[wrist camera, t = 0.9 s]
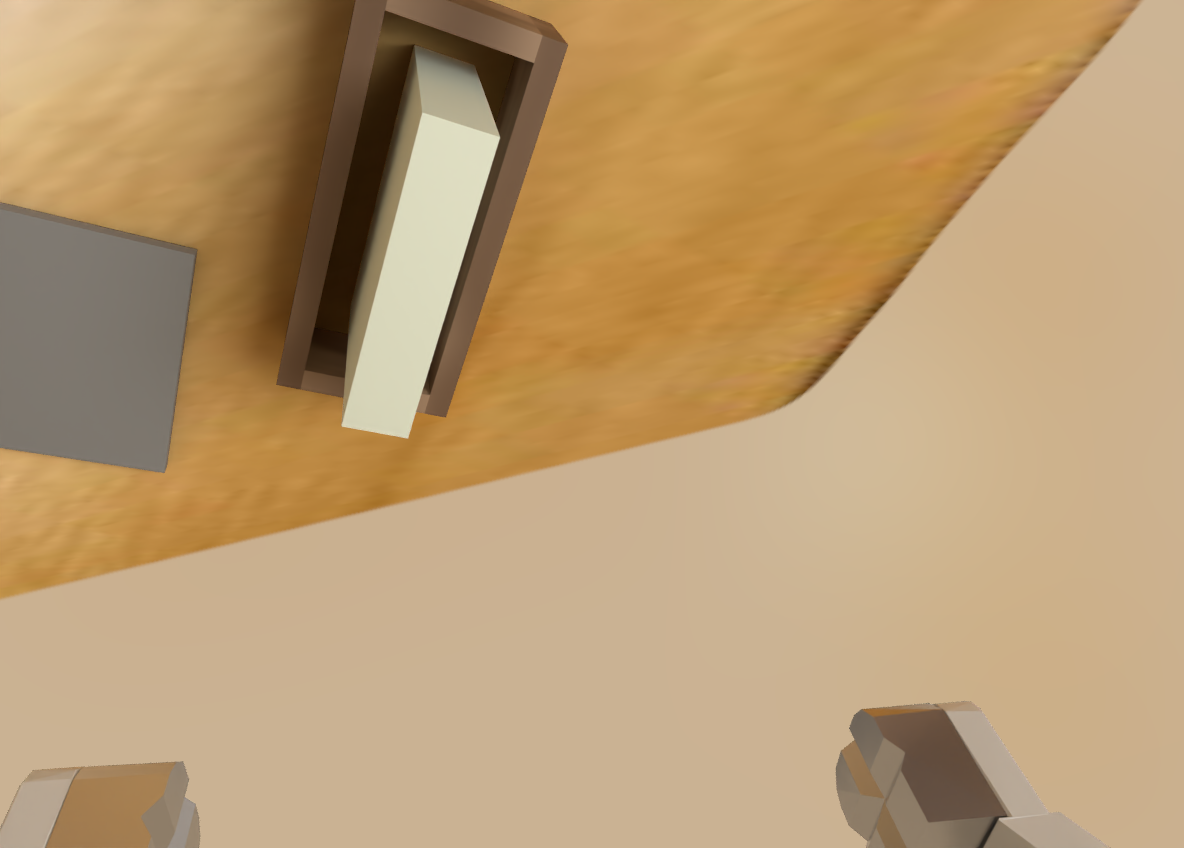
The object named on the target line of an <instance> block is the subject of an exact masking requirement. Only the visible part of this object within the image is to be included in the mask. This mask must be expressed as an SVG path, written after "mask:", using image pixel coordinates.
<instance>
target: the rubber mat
mask: <svg viewBox="0 0 1184 848" xmlns="http://www.w3.org/2000/svg"><path fill="white" fill-rule="evenodd" d="M196 255H197V249H193V248H189V247H185V246H181V245H176V244H172V243H168V242H164V241H160V240H155V239H151V238H147V237H143V236H139V235H135V234H130V233H126V232H122V231H118V230H114V229H109V228H105V227H101V226H97V225H93V224H89V223H84V222H80V221H76V220H72V219H68V218H63V217H59V216H55V215H51V214H47V213H43V212H38V211H34V210H30V209H26V208H22V207H17V206H13V205H9V204H5V203H1V202H0V448H5V449H12V450H18V451H25V452H31V453H38V454H44V455H51V456H57V457H64V458H70V459H77V460H83V461H90V462H97V463H103V464H110V465H116V466H123V467H129V468H136V469H142V470H149V471H155V472H162V473H165V470H166V467H167V462H168V454H169V447H170V440H171V433H172V426H173V419H174V412H175V405H176V397H177V390H178V383H179V376H180V369H181V362H182V355H183V348H184V340H185V333H186V326H187V319H188V312H189V305H190V298H191V291H192V283H193V276H194V269H195V262H196Z"/></svg>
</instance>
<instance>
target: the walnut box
mask: <svg viewBox="0 0 1184 848" xmlns="http://www.w3.org/2000/svg"><path fill="white" fill-rule="evenodd" d="M385 10H386V11H388V12H391V13H394V14H397V15H400V16H402V17H405V18H408V19H411V20H414V21H417V22H419V23H422V24H425V25H428V26H431V27H434V28H436V29H439V30H442V31H445V32H448V33H450V34H453V35H456V36H459V37H462V38H465V39H467V40H470V41H473V42H476V43H479V44H482V45H484V46H487V47H490V48H493V49H496V50H498V51H501V52H504V53H507V54H510V55H513V56H515V57H516V58H515V61H514V64H513V68H512V71H511V74H510V78H509V81H508V84H507V87H506V91H505V94H504V97H503V101H502V104H501V107H500V111H499V114H498V117H497V121H496V127H497V130H498V133H499V135H500V139H499V143H498V146H497V149H496V152H495V156H494V159H493V162H492V165H491V169H490V172H489V175H488V178H487V182H486V185H485V188H484V192H483V195H482V198H481V201H480V205H479V208H478V211H477V214H476V218H475V221H474V224H473V227H472V231H471V234H470V237H469V240H468V244H467V247H466V250H465V253H464V257H463V260H462V263H461V267H460V270H459V273H458V276H457V280H456V283H455V286H454V289H453V293H452V296H451V299H450V302H449V306H448V309H447V312H446V315H445V319H444V322H443V325H442V328H441V332H440V335H439V338H438V341H437V345H436V348H435V351H434V355H433V358H432V361H431V364H430V368H429V371H428V374H427V377H426V381H425V384H424V387H423V390H422V394H421V397H420V400H419V403H418V407H417V410H416V412H420V413H425V414H430V415H435V416H440V417H446V415H447V412H448V409H449V406H450V403H451V400H452V397H453V394H454V391H455V388H456V385H457V382H458V378H459V375H460V372H461V369H462V366H463V363H464V360H465V357H466V354H467V351H468V348H469V345H470V342H471V339H472V336H473V333H474V330H475V327H476V324H477V321H478V318H479V315H480V312H481V308H482V305H483V302H484V299H485V296H486V293H487V290H488V287H489V284H490V281H491V278H492V275H493V272H494V269H495V266H496V263H497V260H498V257H499V254H500V251H501V248H502V245H503V242H504V238H505V235H506V232H507V229H508V226H509V223H510V220H511V217H512V214H513V211H514V208H515V205H516V202H517V199H518V196H519V193H520V190H521V187H522V184H523V181H524V178H525V175H526V172H527V168H528V165H529V162H530V159H531V156H532V153H533V150H534V147H535V144H536V141H537V138H538V135H539V132H540V129H541V126H542V123H543V120H544V117H545V114H546V111H547V108H548V105H549V102H550V98H551V95H552V92H553V89H554V86H555V83H556V80H557V77H558V74H559V71H560V68H561V65H562V62H563V59H564V56H565V53H566V50H567V47H568V44H567V43H566V42H565V40H564V39H563V38H562V37H561V35H560V34H559V33H558V32H557V30H556V29H555V28H554V27H553V25H552V24H550V23H547V22H545V21H542V20H539V19H537V18H534V17H531V16H529V15H526V14H523V13H520V12H518V11H515V10H512V9H510V8H507V7H504V6H502V5H499V4H496V3H494V2H491V1H488V0H355V4H354V9H353V14H352V19H351V24H350V29H349V33H348V38H347V43H346V48H345V53H344V58H343V62H342V67H341V72H340V77H339V82H338V87H337V91H336V96H335V101H334V106H333V111H332V116H331V121H330V125H329V130H328V135H327V140H326V145H325V150H324V154H323V159H322V164H321V169H320V174H319V179H318V184H317V188H316V193H315V198H314V203H313V208H312V213H311V217H310V222H309V227H308V232H307V237H306V242H305V247H304V251H303V256H302V261H301V266H300V271H299V276H298V280H297V285H296V290H295V295H294V300H293V305H292V309H291V314H290V319H289V324H288V329H287V334H286V339H285V344H284V349H283V354H282V359H281V364H280V369H279V374H278V379H277V384H276V385H281V386H286V387H291V388H296V389H301V390H306V391H312V392H317V393H322V394H327V395H332V396H337V397H342V398H344V386H345V373H346V359H347V346H348V334H343V333H339V332H334V331H330V330H325V329H321V328H316V327H314V326H315V322H316V317H317V313H318V308H319V304H320V299H321V295H322V290H323V286H324V281H325V277H326V273H327V268H328V264H329V259H330V255H331V250H332V246H333V241H334V237H335V232H336V228H337V223H338V219H339V214H340V210H341V205H342V201H343V197H344V192H345V188H346V183H347V179H348V174H349V170H350V165H351V161H352V156H353V152H354V147H355V143H356V138H357V134H358V129H359V125H360V120H361V116H362V112H363V107H364V103H365V98H366V94H367V89H368V85H369V80H370V76H371V71H372V67H373V62H374V58H375V53H376V49H377V44H378V40H379V36H380V31H381V27H382V22H383V18H384V13H385Z"/></svg>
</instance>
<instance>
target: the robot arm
mask: <svg viewBox="0 0 1184 848" xmlns="http://www.w3.org/2000/svg"><path fill="white" fill-rule="evenodd" d="M849 729H850V731H851V733H852V735H853V737H854V739H855V740H854V741H852V742H851V743H850V744H849V745H848V746H846V747H845V748H844V749H843V750H841V753H840V756H839V759H838V763H837V766H836V785H837V793H838V797H839V800H840V804H841V808H842V810H843V812H844V815H845V817H846V820H847V822H848V825H849V826H850V827H851V828H852V829H854V830H855V831H856V832H857V833H859V834H860V835H861V836H862V837H863V838H864V839H866V840H867V846H866V848H1110V847H1109V846H1107V845H1106V844H1104V843H1103V842H1102V841H1100V840H1098V839H1097V838H1096V837H1094V836H1093V835H1091V834H1090V833H1089V832H1087V831H1086V830H1084V829H1083V828H1081V827H1080V826H1079V825H1077V824H1076V823H1074V822H1073V821H1072V820H1070V819H1069V818H1067V817H1066V816H1064V815H1063V814H1062V813H1060V812H1056V813H1049V812H1048V811H1047V809H1046V808H1045V806H1044V804H1043V803H1042V801H1041V800H1040V798H1039V797H1038V795H1037V794H1036V792H1035V791H1034V789H1033V788H1032V786H1031V785H1030V783H1029V782H1028V780H1027V779H1026V777H1025V776H1024V774H1023V773H1022V771H1021V770H1020V768H1019V767H1018V765H1017V763H1016V762H1015V760H1014V759H1013V757H1012V756H1011V754H1010V753H1009V751H1008V750H1007V748H1006V747H1005V745H1004V744H1003V742H1002V741H1001V740H1000V738H999V736H998V735H997V733H996V732H995V730H994V729H993V727H992V726H991V724H990V722H989V721H988V719H987V718H986V717H985V715H984V713H983V712H982V710H981V709H980V708H979V707H978V706H976V705H975V704H974V703H972V702H971V701H970V702H969V701H962V702H951V703H939V704H930V703H926V704H914V705H904V706H892V707H881V708H870V709H861V710H860V711H859V712H858V713H856V714H855V715H854V717H853V719H852V722H851V725H850V728H849ZM188 782H189V778H188V775H187V772H186V769H185V766H184V763H183V762H165V763H147V764H146V763H145V764H127V765H108V766H91V767H71V768H58V769H42V770H33V771H32V772H31V773H30V774H29V775H28V777H27V778H26V779H25V780H24V781H23V782H22V784H21V785H20V786H19V788H18V790H17V793H16V795H15V797H14V799H13V801H12V804H11V806H10V808H9V810H8V812H7V815H6V817H5V819H4V821H3V823H2V825H1V828H0V848H199V844H200V826H199V816H198V812H197V808H196V804H195V803H193V802H191V801H190V800H188V799H187V798H185V793H186V789H187V786H188Z"/></svg>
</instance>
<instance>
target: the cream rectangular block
mask: <svg viewBox="0 0 1184 848" xmlns="http://www.w3.org/2000/svg"><path fill="white" fill-rule="evenodd" d="M499 139H500V135H499V133H498V130H497V127H496V124H495V121H494V118H493V116H492V113H491V110H490V107H489V104H488V102H487V99H486V96H485V93H484V90H483V88H482V85H481V82H480V79H479V76H478V73H477V71H476V68H475V65H472V64H470V63H467V62H464V61H461V60H458V59H455V58H452V57H449V56H446V55H443V54H440V53H438V52H435V51H432V50H429V49H426V48H423V47H420V46H417V45H414V47H413V51H412V56H411V60H410V64H409V68H408V72H407V76H406V80H405V84H404V88H403V92H402V97H401V101H400V105H399V109H398V113H397V117H396V121H395V125H394V129H393V133H392V138H391V142H390V146H389V150H388V154H387V158H386V162H385V166H384V170H383V174H382V179H381V183H380V187H379V191H378V195H377V199H376V203H375V207H374V211H373V216H372V220H371V224H370V228H369V232H368V236H367V240H366V244H365V248H364V252H363V257H362V261H361V265H360V269H359V273H358V277H357V281H356V285H355V289H354V293H353V298H352V302H351V306H350V319H349V333H348V346H347V359H346V373H345V386H344V399H343V412H342V426H343V427H348V428H354V429H359V430H365V431H370V432H376V433H381V434H386V435H392V436H397V437H403V438H408V436H409V433H410V430H411V426H412V423H413V420H414V416H415V413H416V410H417V407H418V403H419V400H420V397H421V394H422V390H423V387H424V384H425V381H426V377H427V374H428V371H429V368H430V364H431V361H432V358H433V355H434V351H435V348H436V345H437V341H438V338H439V335H440V332H441V328H442V325H443V322H444V319H445V315H446V312H447V309H448V306H449V302H450V299H451V296H452V293H453V289H454V286H455V283H456V280H457V276H458V273H459V270H460V267H461V263H462V260H463V257H464V253H465V250H466V247H467V244H468V240H469V237H470V234H471V231H472V227H473V224H474V221H475V218H476V214H477V211H478V208H479V205H480V201H481V198H482V195H483V192H484V188H485V185H486V182H487V178H488V175H489V172H490V169H491V165H492V162H493V159H494V156H495V152H496V149H497V146H498V143H499Z"/></svg>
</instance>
